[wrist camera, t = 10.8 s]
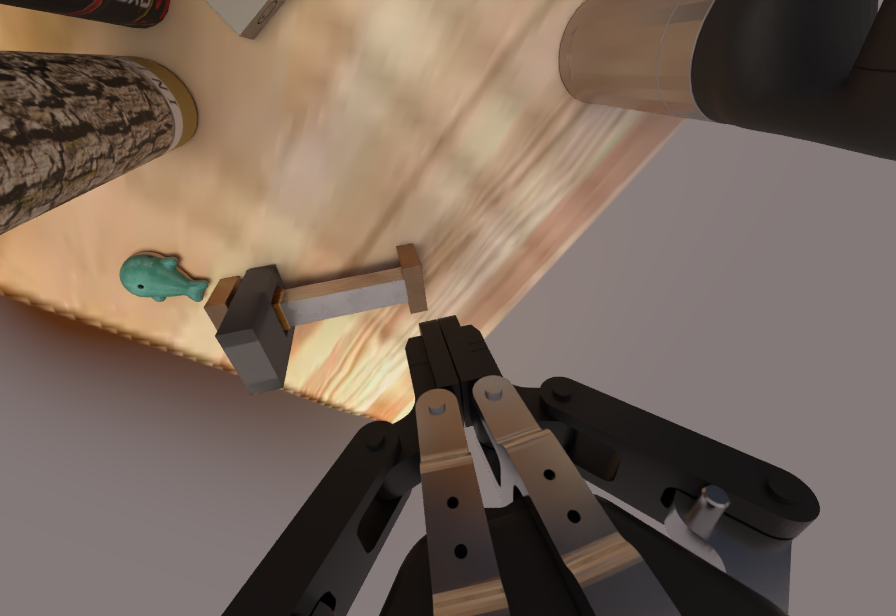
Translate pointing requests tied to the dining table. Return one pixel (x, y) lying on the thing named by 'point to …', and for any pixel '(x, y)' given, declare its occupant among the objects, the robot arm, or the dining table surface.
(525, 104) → the dining table surface
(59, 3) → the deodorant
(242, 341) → the collar
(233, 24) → the grey cube
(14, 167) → the paper tube
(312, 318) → the grey bar with endplates
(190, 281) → the whale figurine
